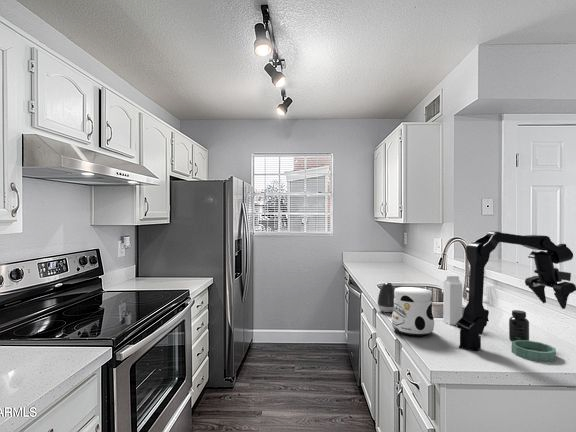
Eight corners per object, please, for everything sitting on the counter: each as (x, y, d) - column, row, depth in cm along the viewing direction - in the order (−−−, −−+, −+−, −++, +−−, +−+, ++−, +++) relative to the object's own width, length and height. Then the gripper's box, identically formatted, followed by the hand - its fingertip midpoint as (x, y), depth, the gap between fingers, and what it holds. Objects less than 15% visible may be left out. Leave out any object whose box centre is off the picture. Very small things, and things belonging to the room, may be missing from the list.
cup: (510, 355, 131) (510, 347, 131) (513, 345, 142) (513, 337, 142) (556, 364, 123) (556, 355, 123) (555, 353, 134) (555, 344, 134)
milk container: (384, 332, 157) (384, 290, 157) (402, 324, 170) (402, 285, 170) (424, 341, 145) (424, 296, 145) (440, 332, 158) (440, 290, 158)
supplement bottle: (510, 337, 152) (510, 308, 152) (530, 341, 147) (530, 311, 147) (507, 341, 146) (507, 311, 146) (528, 345, 142) (528, 314, 142)
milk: (462, 324, 169) (462, 277, 169) (449, 325, 169) (450, 277, 169) (454, 321, 176) (455, 275, 176) (442, 321, 175) (443, 275, 175)
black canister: (400, 310, 194) (400, 282, 194) (394, 315, 185) (394, 285, 185) (381, 308, 199) (381, 280, 200) (374, 312, 191) (375, 283, 191)
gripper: (585, 264, 134) (594, 306, 134) (544, 259, 152) (553, 295, 152) (557, 272, 132) (567, 314, 133) (520, 265, 151) (528, 302, 151)
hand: (553, 305), depth 142 cm, fingers open, 9 cm apart
